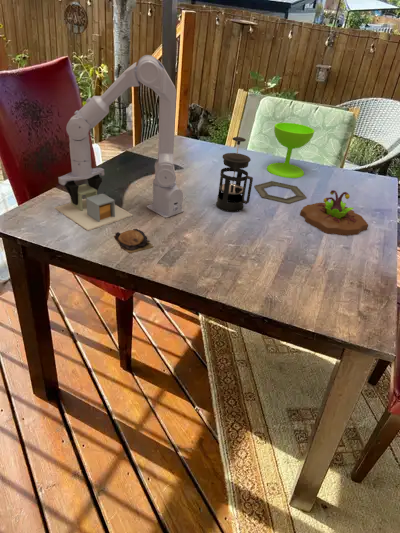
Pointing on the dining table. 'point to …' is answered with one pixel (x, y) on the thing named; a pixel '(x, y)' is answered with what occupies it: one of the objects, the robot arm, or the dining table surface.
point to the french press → (233, 190)
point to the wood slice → (133, 240)
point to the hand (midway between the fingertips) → (84, 201)
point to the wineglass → (290, 147)
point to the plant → (334, 216)
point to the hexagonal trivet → (264, 194)
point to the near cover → (97, 201)
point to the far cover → (82, 191)
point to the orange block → (104, 211)
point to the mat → (85, 219)
